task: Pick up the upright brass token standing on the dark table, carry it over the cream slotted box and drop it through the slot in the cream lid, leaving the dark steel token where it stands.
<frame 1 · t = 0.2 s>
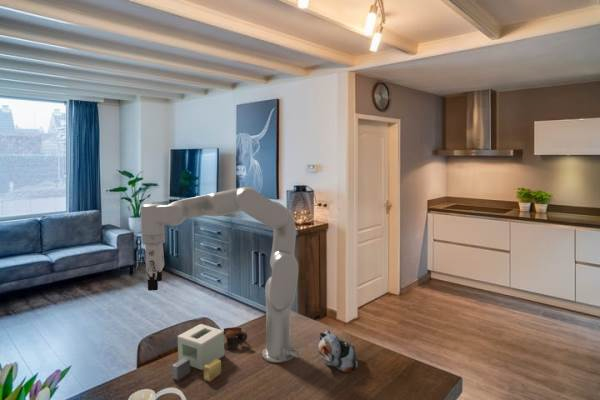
hand: (155, 285, 137), 31 cm above the table, tool pointing down, fingers open, 9 cm apart
brass token: (212, 376, 134), on the table
cream slotted box: (201, 358, 146), on the table
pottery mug: (234, 344, 157), on the table
lucky cat figurine: (338, 365, 142), on the table
dark steel token: (181, 375, 135), on the table
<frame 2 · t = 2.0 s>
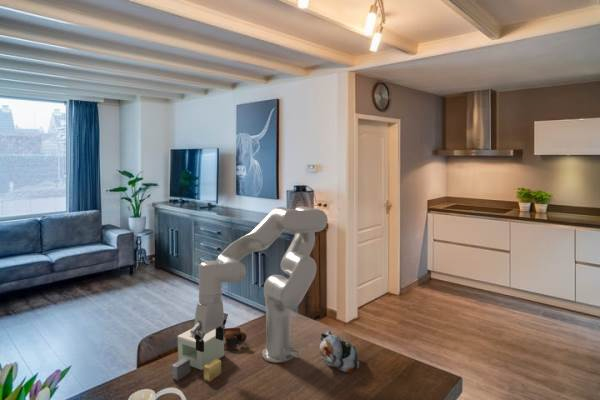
hand: (210, 345, 132), 12 cm above the table, tool pointing down, fingers open, 9 cm apart
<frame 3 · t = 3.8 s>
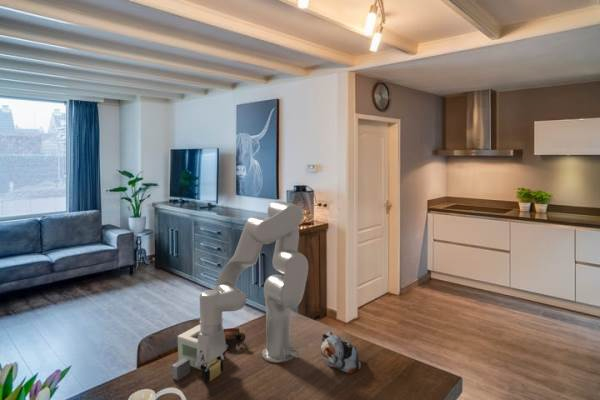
hand: (212, 374, 134), 1 cm above the table, tool pointing down, fingers closed on brass token, 5 cm apart
brass token: (212, 376, 134), on the table, touching gripper
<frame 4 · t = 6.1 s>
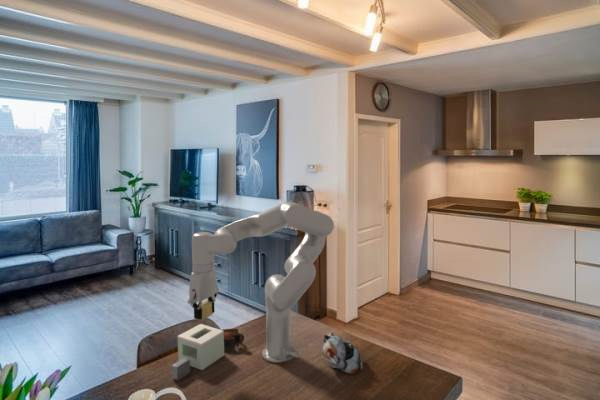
hand: (204, 315, 138), 20 cm above the table, tool pointing down, fingers closed on brass token, 5 cm apart
brass token: (204, 316, 139), point 19 cm above the table, touching gripper
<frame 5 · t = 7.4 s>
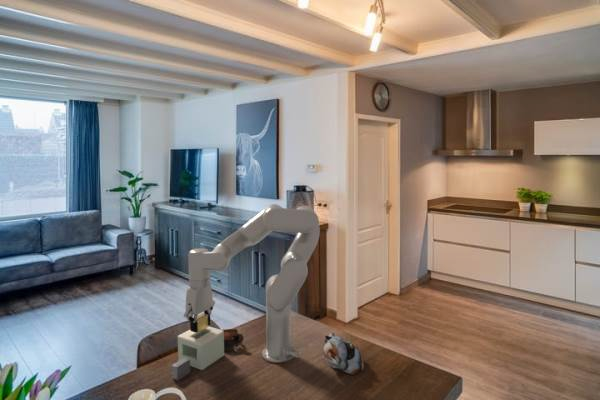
hand: (200, 327, 145), 12 cm above the table, tool pointing down, fingers closed on brass token, 5 cm apart
brass token: (200, 329, 145), point 12 cm above the table, touching gripper
when the fingers open (12 cm above the table, at t = 8.2 s): brass token drops 11 cm, resting on cream slotted box.
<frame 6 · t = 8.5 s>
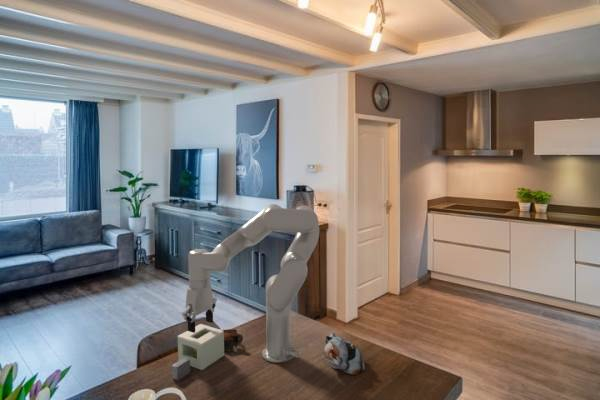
hand: (200, 326, 145), 13 cm above the table, tool pointing down, fingers open, 9 cm apart
brass token: (201, 356, 146), point 1 cm above the table, touching cream slotted box
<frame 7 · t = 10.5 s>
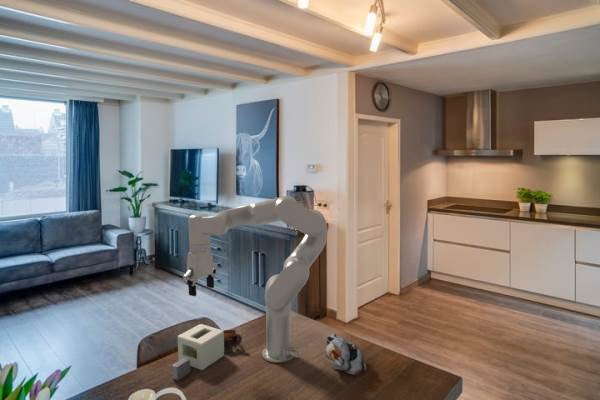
hand: (201, 291, 145), 26 cm above the table, tool pointing down, fingers open, 9 cm apart
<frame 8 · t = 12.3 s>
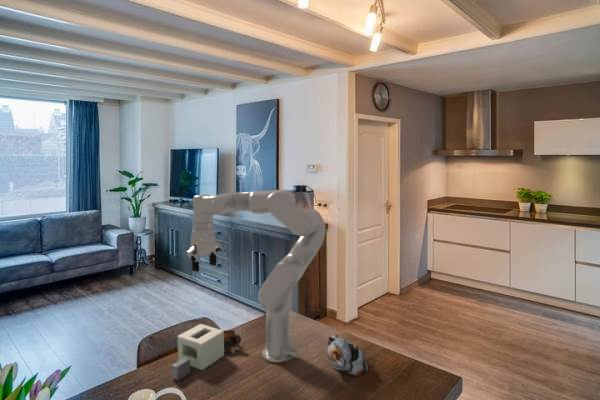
hand: (204, 267, 153), 32 cm above the table, tool pointing down, fingers open, 9 cm apart
at the end: brass token inside the target area on the cream slotted box (0.0 cm from its centre), point 0.6 cm above the cream slotted box's base; the gripper is holding nothing; dark steel token moved 0.1 cm from its start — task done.
